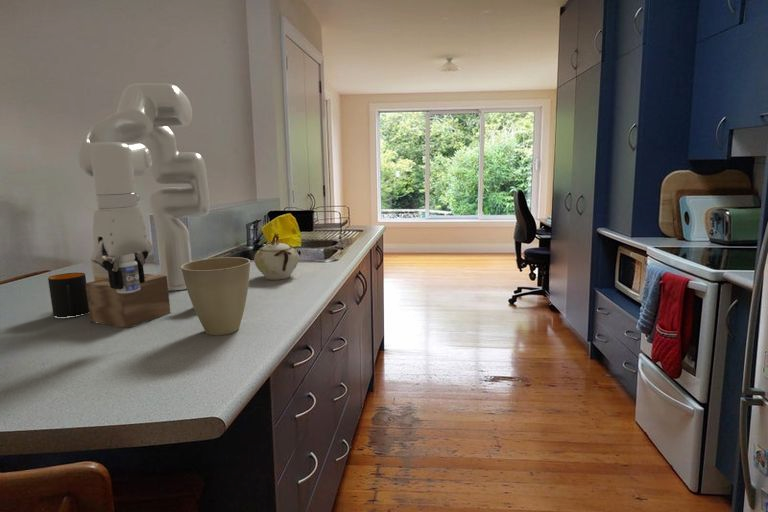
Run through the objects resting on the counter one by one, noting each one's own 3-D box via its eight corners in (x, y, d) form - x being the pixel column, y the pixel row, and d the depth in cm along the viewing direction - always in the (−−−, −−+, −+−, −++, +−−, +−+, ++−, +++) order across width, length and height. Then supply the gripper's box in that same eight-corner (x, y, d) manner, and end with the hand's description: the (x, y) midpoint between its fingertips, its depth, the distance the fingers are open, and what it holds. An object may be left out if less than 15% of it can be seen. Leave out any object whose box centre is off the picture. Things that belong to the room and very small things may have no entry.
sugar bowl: (309, 279, 167) (307, 234, 164) (266, 285, 159) (262, 239, 156) (288, 269, 183) (286, 229, 181) (248, 275, 176) (244, 232, 173)
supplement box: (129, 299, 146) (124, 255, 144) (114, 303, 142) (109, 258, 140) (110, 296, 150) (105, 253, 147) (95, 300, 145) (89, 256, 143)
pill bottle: (130, 294, 107) (126, 256, 105) (111, 293, 108) (106, 255, 106) (145, 288, 111) (141, 251, 110) (126, 287, 112) (122, 251, 111)
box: (90, 322, 124) (85, 283, 123) (135, 308, 136) (130, 272, 134) (127, 327, 119) (122, 287, 117) (170, 312, 131) (166, 275, 129)
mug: (53, 324, 124) (47, 283, 122) (53, 313, 134) (48, 275, 132) (91, 318, 128) (86, 278, 126) (89, 307, 138) (84, 271, 136)
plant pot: (202, 321, 123) (196, 257, 120) (262, 320, 123) (258, 256, 120) (176, 342, 108) (168, 270, 106) (243, 341, 108) (238, 269, 105)
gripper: (138, 198, 115) (147, 275, 118) (66, 206, 99) (79, 293, 103) (162, 198, 112) (171, 277, 115) (92, 207, 97) (105, 297, 100)
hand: (128, 284), depth 109 cm, fingers closed on pill bottle, 4 cm apart
